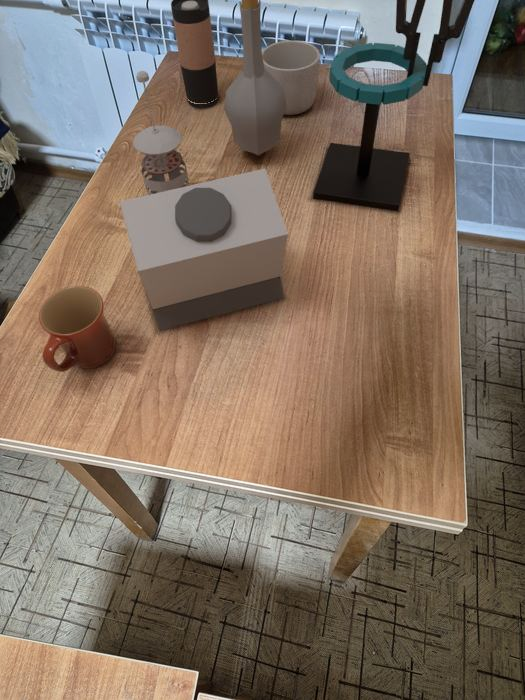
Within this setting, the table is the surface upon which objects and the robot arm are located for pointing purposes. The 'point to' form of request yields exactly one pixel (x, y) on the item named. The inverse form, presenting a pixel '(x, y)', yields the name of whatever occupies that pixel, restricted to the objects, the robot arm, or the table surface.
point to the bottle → (254, 91)
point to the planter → (294, 72)
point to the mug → (76, 329)
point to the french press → (160, 154)
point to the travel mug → (196, 50)
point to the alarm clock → (208, 247)
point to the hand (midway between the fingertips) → (417, 80)
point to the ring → (376, 92)
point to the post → (363, 171)
